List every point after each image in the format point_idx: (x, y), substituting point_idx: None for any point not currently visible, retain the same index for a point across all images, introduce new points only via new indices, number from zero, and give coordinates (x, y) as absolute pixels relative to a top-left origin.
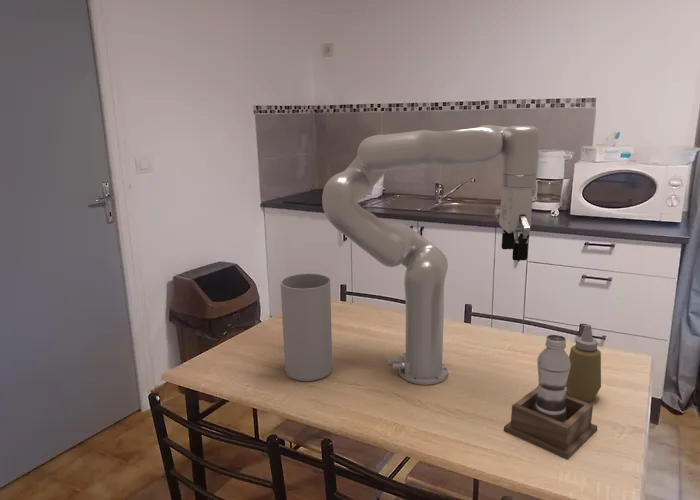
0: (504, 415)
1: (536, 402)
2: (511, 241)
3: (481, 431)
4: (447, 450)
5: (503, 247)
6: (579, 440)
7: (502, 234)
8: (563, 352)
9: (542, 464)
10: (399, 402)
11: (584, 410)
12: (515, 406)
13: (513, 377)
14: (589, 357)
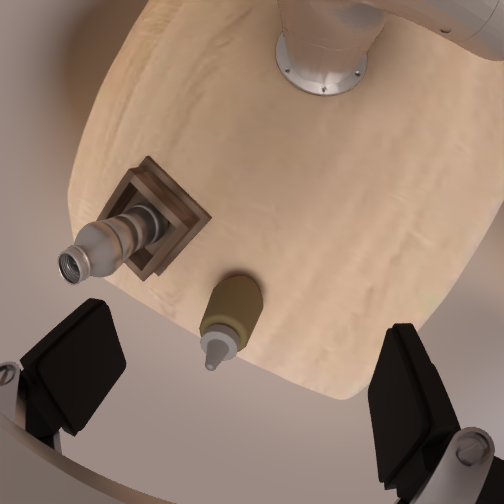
0: (184, 164)
1: (137, 207)
2: (383, 417)
3: (147, 126)
4: (113, 86)
5: (390, 336)
6: None
7: (444, 412)
8: (78, 268)
9: (97, 189)
10: (221, 19)
11: (128, 264)
12: (127, 173)
13: (305, 210)
14: (199, 328)
